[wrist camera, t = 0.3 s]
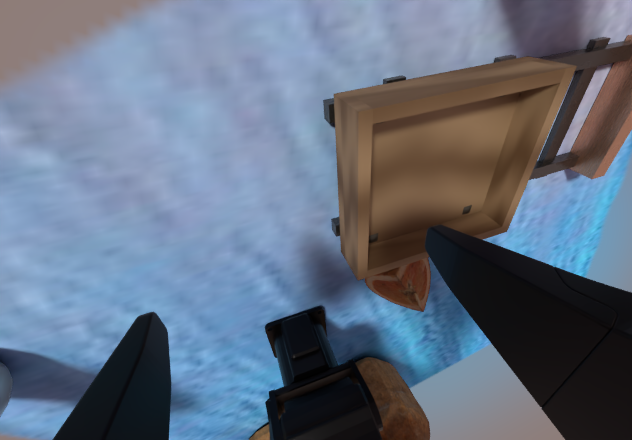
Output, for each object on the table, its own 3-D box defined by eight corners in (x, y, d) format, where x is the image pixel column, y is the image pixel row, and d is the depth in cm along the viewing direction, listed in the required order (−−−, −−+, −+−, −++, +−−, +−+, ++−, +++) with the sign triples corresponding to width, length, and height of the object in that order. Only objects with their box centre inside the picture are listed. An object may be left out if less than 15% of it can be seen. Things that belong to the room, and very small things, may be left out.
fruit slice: (344, 257, 29) (367, 296, 26) (401, 218, 29) (433, 252, 25) (376, 292, 35) (398, 329, 31) (424, 260, 34) (453, 293, 30)
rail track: (574, 164, 32) (602, 177, 30) (332, 234, 27) (345, 256, 25) (643, 29, 25) (689, 33, 22) (322, 90, 19) (340, 104, 17)
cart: (473, 205, 29) (506, 231, 26) (337, 246, 26) (357, 280, 23) (519, 54, 21) (577, 65, 18) (329, 90, 18) (358, 111, 15)
